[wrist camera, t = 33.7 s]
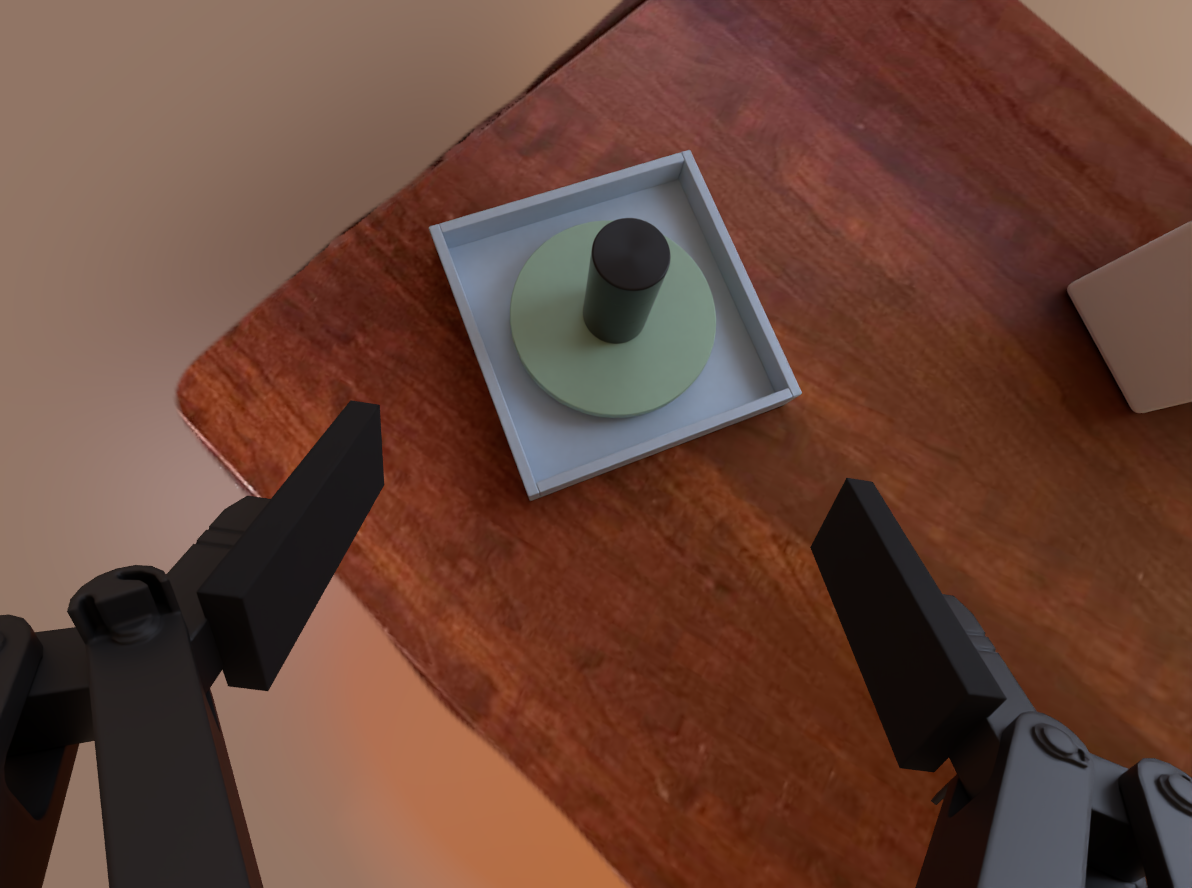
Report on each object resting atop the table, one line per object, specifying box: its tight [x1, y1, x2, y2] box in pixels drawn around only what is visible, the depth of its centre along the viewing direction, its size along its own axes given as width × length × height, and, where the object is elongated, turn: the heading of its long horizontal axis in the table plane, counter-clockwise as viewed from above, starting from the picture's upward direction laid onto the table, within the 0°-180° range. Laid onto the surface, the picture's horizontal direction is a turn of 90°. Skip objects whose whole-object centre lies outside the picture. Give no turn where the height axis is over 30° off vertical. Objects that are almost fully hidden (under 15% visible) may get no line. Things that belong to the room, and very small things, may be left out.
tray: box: [429, 150, 802, 501], centre depth 27 cm, size 14×14×2 cm
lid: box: [510, 218, 716, 418], centre depth 24 cm, size 10×10×7 cm
